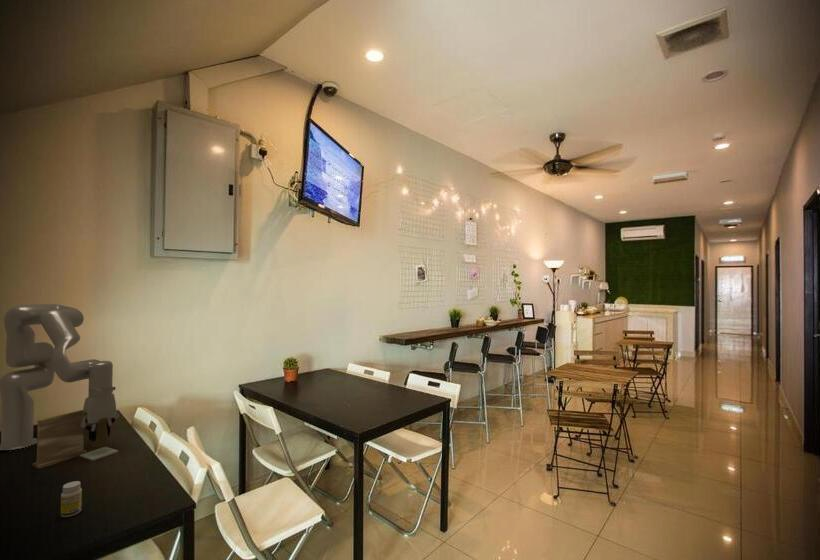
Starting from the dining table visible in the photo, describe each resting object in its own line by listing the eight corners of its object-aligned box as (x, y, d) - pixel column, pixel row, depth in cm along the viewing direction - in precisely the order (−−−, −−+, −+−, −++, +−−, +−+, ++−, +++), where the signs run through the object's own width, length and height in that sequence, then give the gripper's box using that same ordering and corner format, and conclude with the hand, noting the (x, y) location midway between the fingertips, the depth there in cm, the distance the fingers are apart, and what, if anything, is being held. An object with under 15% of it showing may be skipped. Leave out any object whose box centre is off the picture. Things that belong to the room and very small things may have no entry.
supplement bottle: (69, 508, 117) (69, 480, 118) (85, 508, 118) (86, 479, 118) (56, 518, 113) (56, 488, 113) (73, 517, 113) (74, 488, 113)
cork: (98, 447, 153) (98, 419, 153) (85, 446, 154) (86, 418, 154) (113, 441, 158) (113, 414, 159) (100, 440, 160) (101, 413, 160)
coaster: (79, 456, 154) (79, 455, 154) (105, 448, 162) (105, 446, 162) (92, 460, 150) (92, 459, 150) (118, 451, 158) (118, 450, 158)
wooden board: (32, 466, 145) (33, 420, 146) (80, 451, 159) (81, 409, 159) (39, 468, 143) (40, 422, 144) (87, 453, 157) (88, 410, 157)
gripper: (117, 386, 166) (117, 430, 165) (70, 396, 151) (69, 444, 150) (128, 388, 163) (127, 432, 162) (81, 399, 147) (80, 447, 147)
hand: (99, 438), depth 156 cm, fingers closed on cork, 4 cm apart
